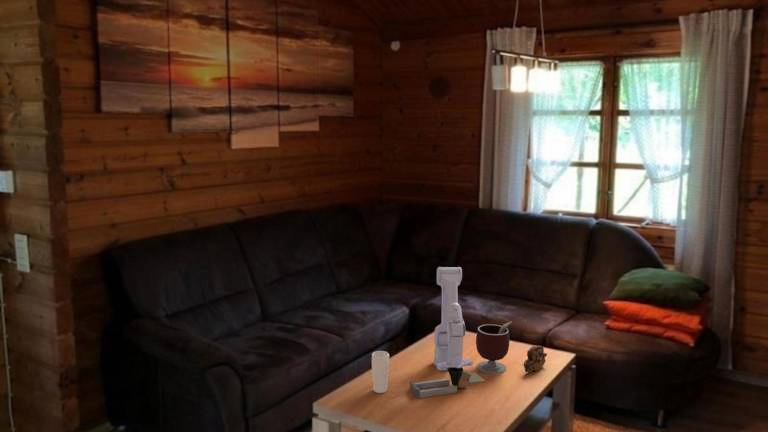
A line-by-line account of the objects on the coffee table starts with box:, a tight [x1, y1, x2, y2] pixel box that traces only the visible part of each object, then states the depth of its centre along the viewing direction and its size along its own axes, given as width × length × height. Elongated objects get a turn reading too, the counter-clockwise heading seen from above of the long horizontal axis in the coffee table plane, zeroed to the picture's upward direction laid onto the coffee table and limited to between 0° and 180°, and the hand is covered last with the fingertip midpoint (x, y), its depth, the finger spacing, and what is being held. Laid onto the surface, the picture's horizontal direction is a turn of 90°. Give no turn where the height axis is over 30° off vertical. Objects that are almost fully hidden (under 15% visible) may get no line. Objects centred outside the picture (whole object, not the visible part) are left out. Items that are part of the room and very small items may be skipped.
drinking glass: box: [371, 350, 390, 394], centre depth 243 cm, size 7×7×15 cm
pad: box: [468, 372, 485, 384], centre depth 257 cm, size 8×8×1 cm
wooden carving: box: [522, 345, 548, 373], centre depth 266 cm, size 16×5×10 cm, turn 143°
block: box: [456, 369, 471, 389], centre depth 248 cm, size 4×4×6 cm
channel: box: [409, 378, 458, 399], centre depth 245 cm, size 8×16×3 cm, turn 109°
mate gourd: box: [475, 321, 513, 375], centre depth 266 cm, size 16×14×20 cm
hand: (454, 384), depth 248 cm, fingers closed
